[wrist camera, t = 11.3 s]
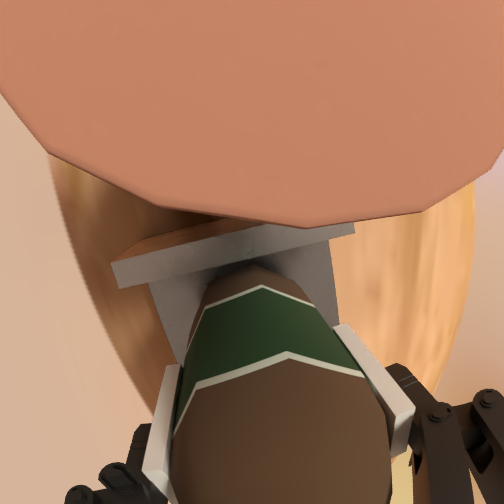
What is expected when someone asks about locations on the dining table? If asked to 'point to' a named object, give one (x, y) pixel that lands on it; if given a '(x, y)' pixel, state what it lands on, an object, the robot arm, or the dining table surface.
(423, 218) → the dining table surface
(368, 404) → the beer bottle
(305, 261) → the bracket
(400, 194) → the coffee jar
